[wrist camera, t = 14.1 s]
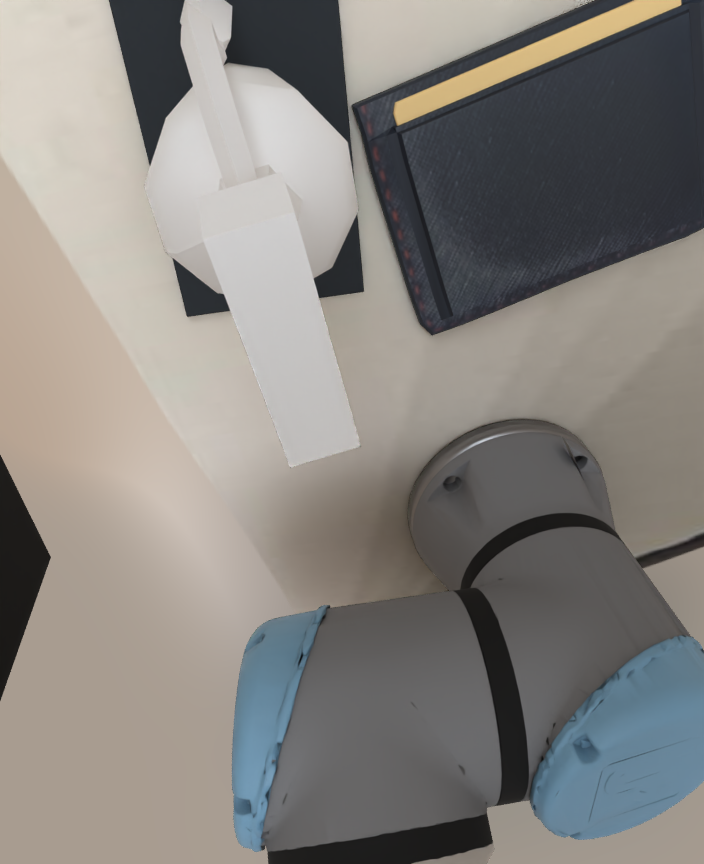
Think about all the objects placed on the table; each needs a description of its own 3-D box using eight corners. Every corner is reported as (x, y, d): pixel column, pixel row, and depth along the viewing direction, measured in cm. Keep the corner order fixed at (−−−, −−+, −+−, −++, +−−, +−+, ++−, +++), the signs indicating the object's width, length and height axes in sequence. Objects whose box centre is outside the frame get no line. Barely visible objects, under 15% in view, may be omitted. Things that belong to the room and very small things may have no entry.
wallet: (426, 347, 43) (351, 96, 34) (419, 334, 44) (346, 92, 36) (731, 236, 41) (731, -52, 33) (713, 227, 43) (708, -50, 35)
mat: (362, 289, 42) (364, 291, 42) (187, 314, 41) (186, 317, 41) (321, -176, 30) (322, -178, 30) (72, -152, 29) (70, -154, 29)
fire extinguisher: (273, -46, 32) (332, -139, 11) (330, 206, 39) (434, 443, 18) (136, -11, 32) (-63, -38, 11) (217, 235, 39) (188, 507, 18)
